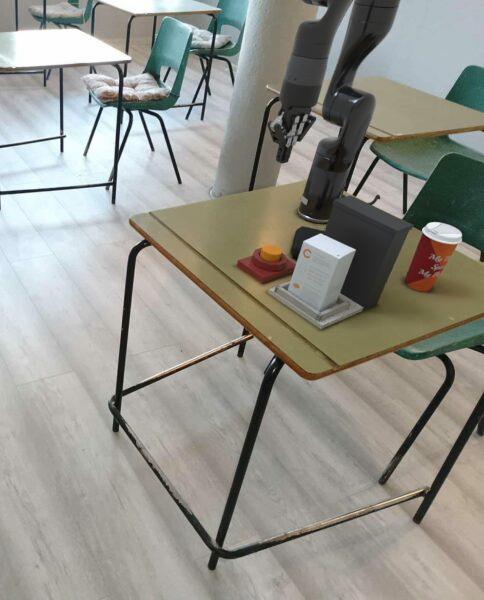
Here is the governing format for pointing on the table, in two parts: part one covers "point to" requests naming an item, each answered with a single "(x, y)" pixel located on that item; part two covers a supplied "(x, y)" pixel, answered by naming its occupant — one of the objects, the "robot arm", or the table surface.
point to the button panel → (265, 267)
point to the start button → (271, 253)
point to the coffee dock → (355, 259)
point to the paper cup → (432, 255)
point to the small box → (320, 271)
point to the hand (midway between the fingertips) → (281, 161)
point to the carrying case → (302, 239)
